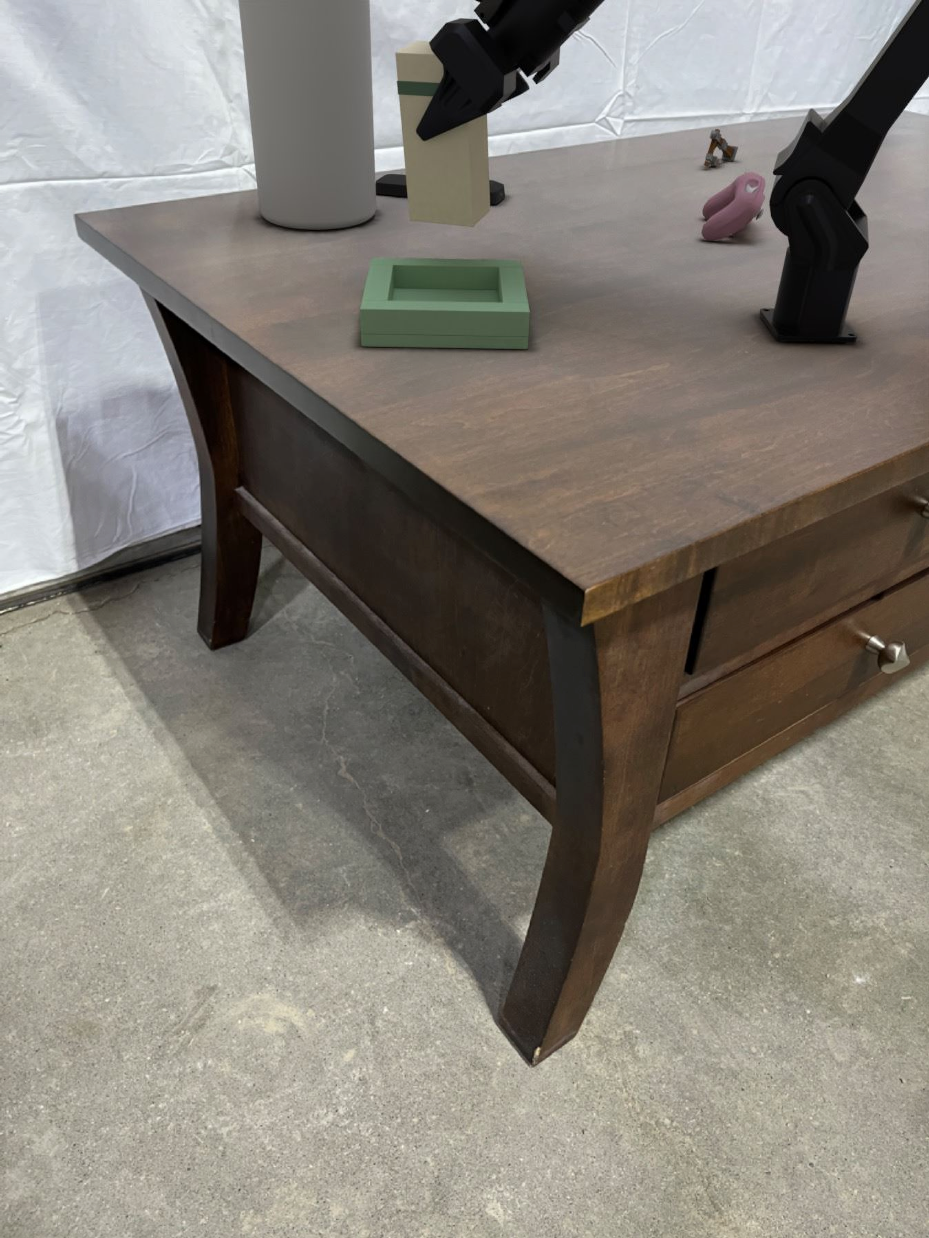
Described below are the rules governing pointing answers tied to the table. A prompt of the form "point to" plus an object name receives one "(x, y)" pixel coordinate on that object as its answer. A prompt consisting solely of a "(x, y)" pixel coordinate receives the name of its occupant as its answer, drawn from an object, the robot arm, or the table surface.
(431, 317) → the green rectangular tray
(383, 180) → the remote control
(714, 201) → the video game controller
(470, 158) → the cream rectangular block
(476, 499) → the table surface
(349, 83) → the cylinder vase
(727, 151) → the grey brown angular piece
